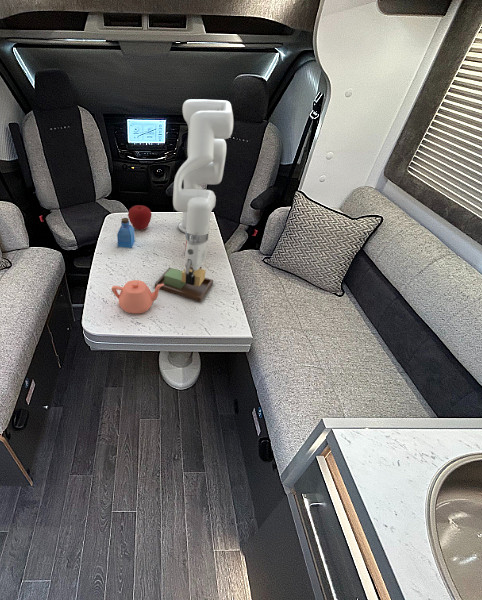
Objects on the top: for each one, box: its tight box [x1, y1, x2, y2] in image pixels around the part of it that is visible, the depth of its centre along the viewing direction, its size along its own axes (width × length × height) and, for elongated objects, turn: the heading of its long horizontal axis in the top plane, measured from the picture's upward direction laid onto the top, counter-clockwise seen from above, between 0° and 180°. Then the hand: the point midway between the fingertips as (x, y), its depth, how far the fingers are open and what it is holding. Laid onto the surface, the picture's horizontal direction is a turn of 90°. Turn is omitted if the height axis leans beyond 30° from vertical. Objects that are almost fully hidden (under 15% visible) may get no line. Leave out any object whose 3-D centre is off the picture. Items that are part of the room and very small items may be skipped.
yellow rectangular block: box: [182, 266, 207, 287], centre depth 124 cm, size 6×7×4 cm
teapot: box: [111, 279, 164, 315], centre depth 118 cm, size 12×18×10 cm
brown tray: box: [154, 266, 214, 303], centre depth 129 cm, size 13×19×2 cm
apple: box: [127, 204, 153, 231], centre depth 162 cm, size 11×11×12 cm
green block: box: [164, 267, 185, 289], centre depth 129 cm, size 6×7×4 cm
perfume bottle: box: [116, 217, 136, 249], centre depth 150 cm, size 6×6×12 cm
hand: (193, 279), depth 125 cm, fingers closed on yellow rectangular block, 5 cm apart
